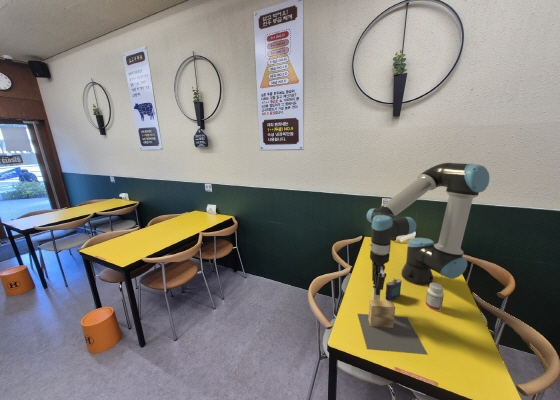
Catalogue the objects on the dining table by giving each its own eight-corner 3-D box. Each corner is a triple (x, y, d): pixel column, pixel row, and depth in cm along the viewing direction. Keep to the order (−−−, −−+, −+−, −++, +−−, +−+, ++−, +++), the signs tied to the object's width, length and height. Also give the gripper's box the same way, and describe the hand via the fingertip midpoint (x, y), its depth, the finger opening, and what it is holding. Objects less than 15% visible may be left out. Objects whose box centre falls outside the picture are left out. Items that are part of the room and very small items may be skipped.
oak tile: (390, 321, 95) (392, 301, 92) (393, 327, 91) (395, 307, 89) (368, 319, 96) (369, 299, 94) (370, 326, 93) (371, 305, 90)
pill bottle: (432, 301, 106) (435, 280, 103) (444, 310, 100) (448, 288, 97) (422, 304, 105) (424, 283, 102) (433, 313, 99) (437, 291, 96)
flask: (396, 293, 112) (398, 274, 110) (402, 296, 110) (404, 277, 107) (383, 299, 109) (385, 279, 106) (388, 302, 106) (390, 283, 104)
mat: (406, 317, 97) (407, 316, 97) (427, 355, 79) (427, 354, 79) (357, 314, 100) (357, 313, 100) (366, 349, 82) (367, 349, 82)
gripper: (367, 244, 101) (364, 289, 106) (374, 258, 88) (371, 308, 94) (384, 244, 100) (380, 290, 105) (394, 259, 87) (389, 310, 93)
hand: (376, 299), depth 100 cm, fingers closed
